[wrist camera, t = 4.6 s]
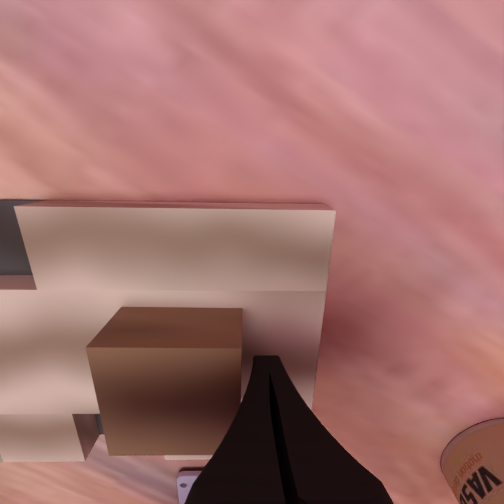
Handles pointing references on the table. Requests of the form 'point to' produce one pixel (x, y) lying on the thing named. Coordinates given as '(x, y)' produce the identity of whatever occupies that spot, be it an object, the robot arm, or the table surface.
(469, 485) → the coffee cup
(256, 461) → the robot arm
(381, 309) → the table surface
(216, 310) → the walnut block
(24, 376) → the board
